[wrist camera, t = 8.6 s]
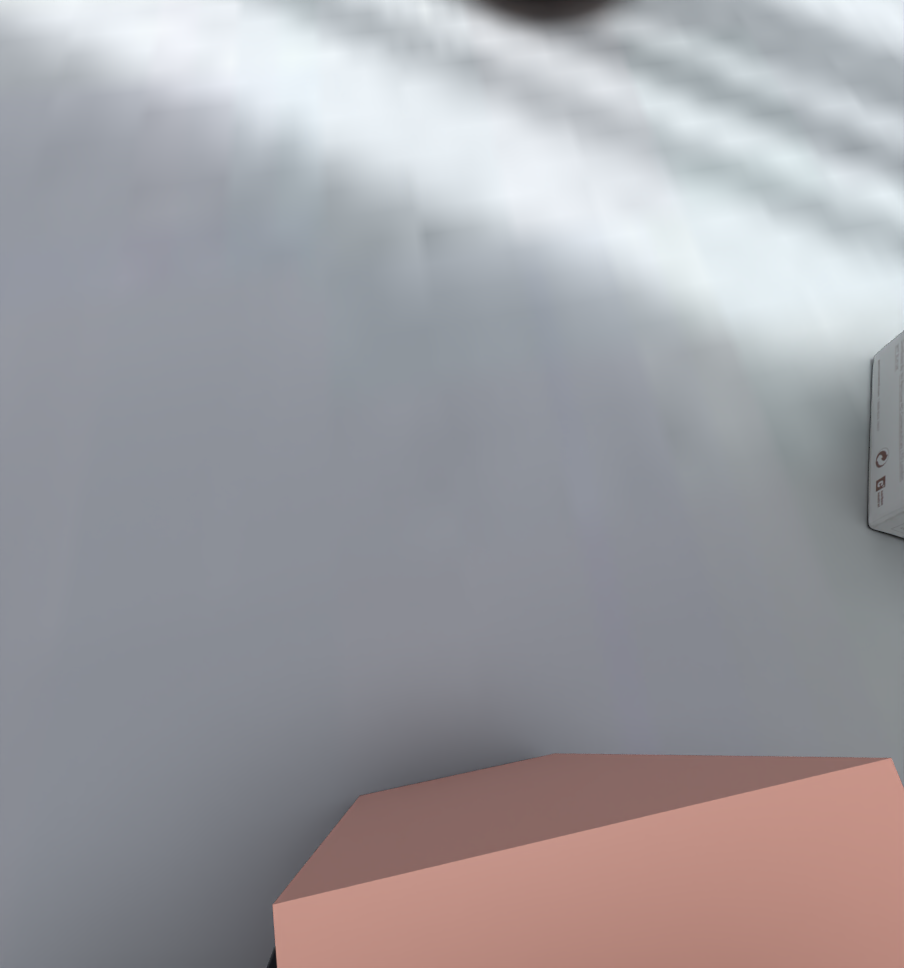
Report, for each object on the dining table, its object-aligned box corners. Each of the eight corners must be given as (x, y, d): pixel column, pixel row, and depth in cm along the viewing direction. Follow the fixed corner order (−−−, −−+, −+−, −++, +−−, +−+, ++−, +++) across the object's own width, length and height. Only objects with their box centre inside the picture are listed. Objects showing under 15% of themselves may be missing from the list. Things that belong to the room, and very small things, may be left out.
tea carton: (599, 943, 15) (1204, 1510, 4) (385, 1000, 14) (347, 1918, 3) (555, 753, 16) (891, 758, 5) (359, 795, 16) (272, 905, 4)
